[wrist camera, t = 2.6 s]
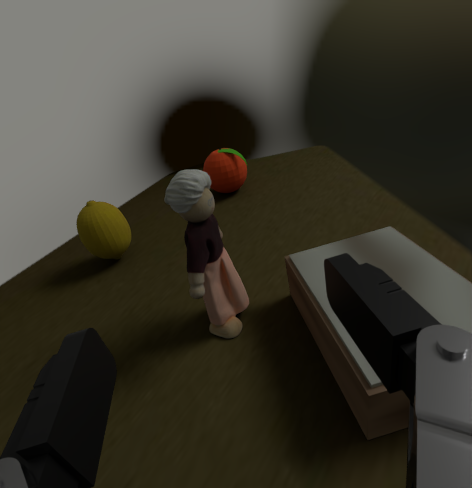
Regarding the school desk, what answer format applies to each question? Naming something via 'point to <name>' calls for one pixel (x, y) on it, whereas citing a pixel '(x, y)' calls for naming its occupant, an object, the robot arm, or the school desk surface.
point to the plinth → (337, 338)
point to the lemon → (103, 230)
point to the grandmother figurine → (207, 253)
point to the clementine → (226, 170)
